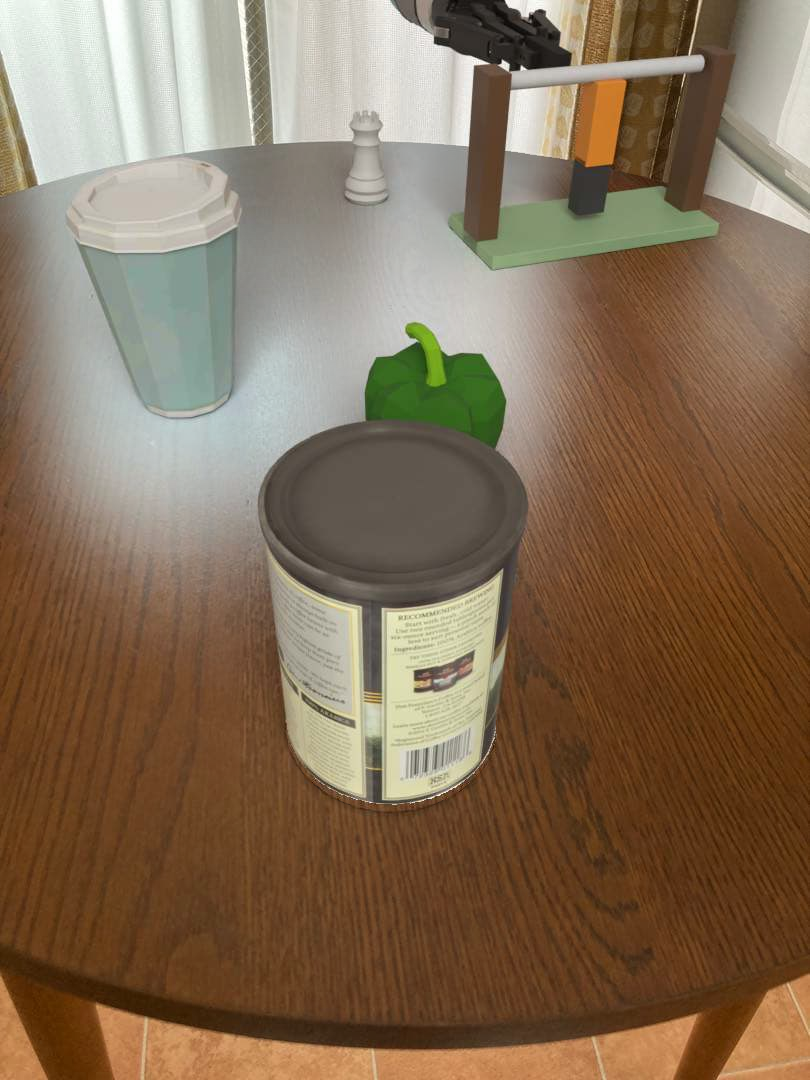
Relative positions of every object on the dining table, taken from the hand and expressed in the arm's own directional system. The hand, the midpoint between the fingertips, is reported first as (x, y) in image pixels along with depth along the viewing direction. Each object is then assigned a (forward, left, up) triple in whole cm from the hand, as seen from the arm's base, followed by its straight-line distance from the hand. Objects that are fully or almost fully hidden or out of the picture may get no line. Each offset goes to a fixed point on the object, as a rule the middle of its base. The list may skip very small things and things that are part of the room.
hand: (562, 69), depth 85 cm
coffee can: (+37, +55, -12) cm, 68 cm away
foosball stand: (0, +7, -12) cm, 14 cm away
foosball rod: (0, +7, -10) cm, 13 cm away
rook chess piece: (+17, -7, -12) cm, 22 cm away
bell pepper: (+28, +38, -12) cm, 49 cm away
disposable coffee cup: (+41, +23, -12) cm, 49 cm away
